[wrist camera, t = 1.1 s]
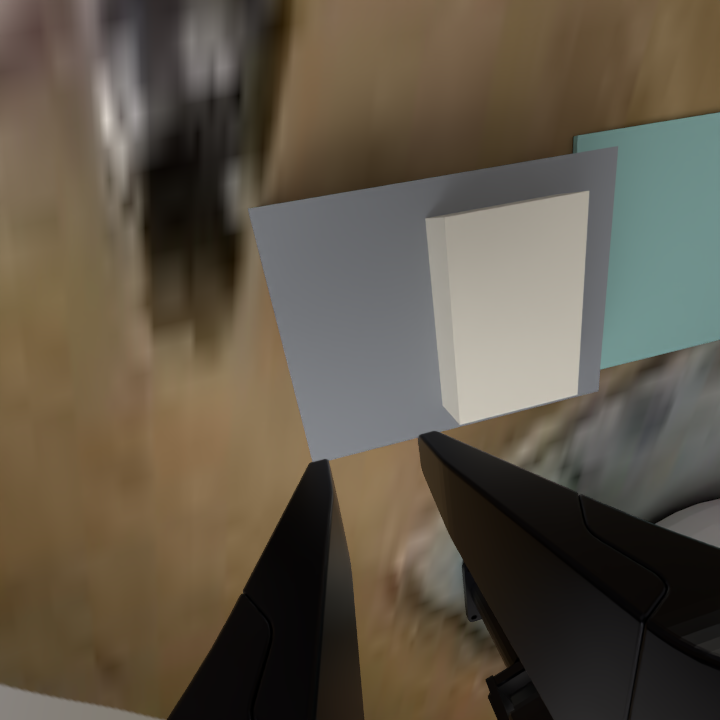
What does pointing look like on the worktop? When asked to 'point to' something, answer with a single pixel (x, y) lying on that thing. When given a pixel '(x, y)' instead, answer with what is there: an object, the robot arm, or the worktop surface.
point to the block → (508, 303)
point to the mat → (662, 238)
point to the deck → (401, 294)
